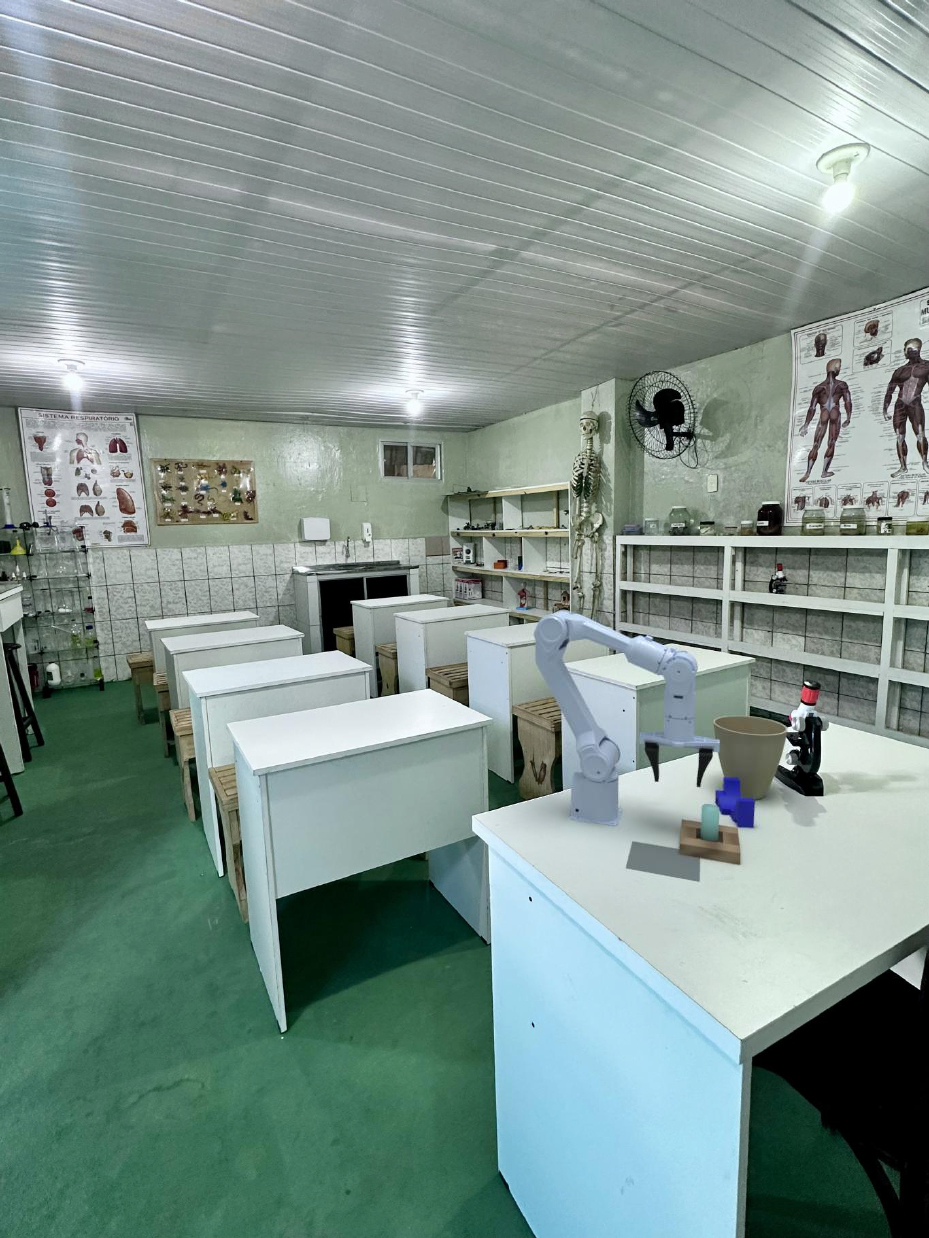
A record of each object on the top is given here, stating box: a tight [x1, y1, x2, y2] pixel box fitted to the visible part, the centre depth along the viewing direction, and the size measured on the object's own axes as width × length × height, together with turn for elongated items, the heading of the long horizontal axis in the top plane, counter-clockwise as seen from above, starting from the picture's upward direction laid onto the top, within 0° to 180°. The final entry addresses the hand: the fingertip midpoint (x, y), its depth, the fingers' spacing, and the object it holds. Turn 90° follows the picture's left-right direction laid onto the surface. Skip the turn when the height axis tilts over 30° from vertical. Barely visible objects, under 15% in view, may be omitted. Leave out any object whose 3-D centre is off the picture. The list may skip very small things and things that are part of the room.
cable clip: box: [714, 776, 756, 829], centre depth 123 cm, size 12×4×6 cm, turn 170°
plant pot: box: [713, 715, 789, 800], centre depth 133 cm, size 15×15×16 cm
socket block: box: [679, 819, 742, 866], centre depth 110 cm, size 10×10×2 cm
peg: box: [700, 803, 720, 843], centre depth 110 cm, size 3×3×8 cm
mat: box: [625, 840, 701, 883], centre depth 106 cm, size 12×10×1 cm
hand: (677, 782), depth 116 cm, fingers open, 7 cm apart
